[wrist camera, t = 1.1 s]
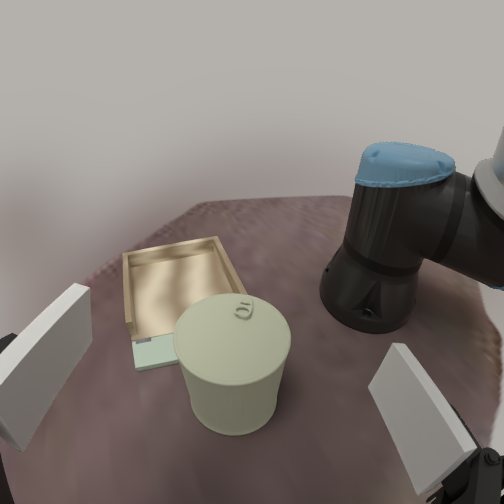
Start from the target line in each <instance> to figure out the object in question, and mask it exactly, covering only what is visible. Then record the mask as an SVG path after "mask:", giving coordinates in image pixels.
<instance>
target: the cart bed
mask: <svg viewBox="0 0 504 504" xmlns="http://www.w3.org/2000/svg"><path fill="white" fill-rule="evenodd" d="M123 286H124V305H125V319H126V325H127V327H128V330H129V332H130V335H131V340H132V342H133V341H135V340H138V339H143V338H149V337H151V338H154V337H158V336H163V335H168V334H173V333H174V328H175V325H176V323H177V321H178V319H179V318H180V316H181V315H182V314H183V313H184V312H185V311H186V310H187V309H188V308H189V307H190V306H191V305H193V304H195V303H196V302H198V301H200V300H202V299H204V298H207V297H210V296H214V295H219V294H227V293H236V294H245V295H248V294H247V292H246V290H245V288H244V286H243V285H242V283H241V281H240V279H239V277H238V275H237V273H236V271H235V270H234V268H233V266H232V264H231V262H230V260H229V258H228V256H227V254H226V252H225V251H224V249H223V247H222V245H221V243H220V241H219V239H218V237H217V236H214V237H208V238H202V239H197V240H191V241H186V242H180V243H175V244H169V245H164V246H158V247H153V248H148V249H143V250H137V251H132V252H127V253H123Z"/></svg>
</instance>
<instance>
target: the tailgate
mask: <svg viewBox="0 0 504 504" xmlns="http://www.w3.org/2000/svg"><path fill="white" fill-rule="evenodd" d="M132 346H133V354H134V361H135V368H136V370H137V371H142V370H148V369H153V368H158V367H163V366H168V365H172V364H177V363H179V360H178V357H177V356H176V353H175V350H174V346H173V334H168V335H163V336H158V337H154V338H151V337H149V338H143V339H138V340H135V341H133V342H132Z"/></svg>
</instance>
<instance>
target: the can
mask: <svg viewBox="0 0 504 504" xmlns="http://www.w3.org/2000/svg"><path fill="white" fill-rule="evenodd" d="M173 346H174V350H175V353H176V356H177V357H178V360H179V363H180V366H181V369H182V372H183V375H184V379H185V382H186V385H187V388H188V391H189V395H190V398H191V406H192V409H193V412H194V413H195V415H196V417H197V418H198V420H199V421H200V422H201V423H202V424H203V425H205V426H206V427H207V428H209V429H211V430H213V431H215V432H217V433H220V434H224V435H244V434H248V433H251V432H254V431H256V430H258V429H259V428H261V427H262V426H263V425H265V424H266V423H267V422H268V421H269V419H270V418H271V417H272V415H273V413H274V411H275V408H276V404H277V393H278V389H279V385H280V381H281V377H282V373H283V369H284V365H285V361H286V358H287V356H288V353H289V350H290V346H291V333H290V329H289V326H288V324H287V322H286V320H285V318H284V317H283V315H282V314H281V313H280V312H279V311H278V310H277V309H276V308H275V307H273V306H272V305H271V304H269V303H267V302H266V301H264V300H261V299H259V298H257V297H253V296H250V295H245V294H236V293H227V294H219V295H214V296H210V297H207V298H204V299H202V300H200V301H198V302H196V303H195V304H193V305H191V306H190V307H189V308H188V309H187V310H186V311H185V312H184V313H183V314H182V315H181V316H180V318H179V319H178V321H177V323H176V325H175V328H174V333H173Z"/></svg>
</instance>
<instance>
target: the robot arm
mask: <svg viewBox="0 0 504 504" xmlns="http://www.w3.org/2000/svg"><path fill="white" fill-rule="evenodd" d="M455 170H456V167H455V162H454V159H453V158H452V157H450V156H448V155H447V154H445V153H442V152H439V151H435V150H434V149H431V148H427V147H423V146H418V145H413V144H407V143H397V142H380V143H375V144H372V145H370V146H368V147H367V148H366V149H365V150H364V152H363V154H362V157H361V162H360V165H359V170H358V173H357V175H356V177H355V182H356V184H355V189H354V194H353V199H352V204H351V209H350V213H349V218H348V223H347V227H346V231H345V236H344V240H343V243H342V245H341V246H340V248H339V249H338V251H337V252H336V254H335V255H334V257H333V258H332V260H331V262H330V263H329V264H328V265H327V267H326V268H325V270H324V272H323V275H322V280H321V284H320V296H321V299H322V301H323V303H324V305H325V307H326V308H327V309H328V311H329V312H330V313H331V314H332V315H333V316H334V317H335V318H337V319H338V320H339V321H341V322H342V323H344V324H345V325H347V326H349V327H351V328H354V329H357V330H360V331H363V332H369V333H386V332H390V331H393V330H396V329H398V328H399V327H401V326H402V325H403V324H404V323H405V322H406V321H407V319H408V318H409V316H410V314H411V312H412V310H413V308H414V305H415V300H416V290H417V281H418V271H419V269H420V266H421V264H422V261H423V259H424V258H426V259H429V260H431V261H434V262H436V263H438V264H441V265H443V266H445V267H448V268H450V269H452V270H454V271H457V272H459V273H461V274H463V275H466V276H468V277H470V278H472V279H474V280H477V281H479V282H481V283H483V284H485V285H487V286H489V287H490V288H493V289H500V290H502V291H504V127H503V130H502V133H501V137H500V139H499V142H498V145H497V148H496V151H495V154H494V157H493V158H490V159H485V160H482V161H480V162H479V163H478V164H477V166H476V168H475V171H474V174H473V176H472V178H471V177H468V176H466V175H463V174H461V173H458V172H456V171H455ZM92 342H93V339H92V326H91V309H90V287H86V286H83V285H79V284H76V283H74V284H73V285H72V286H71V287H69V289H67V290H66V291H65V292H64V293H63V294H62V295H60V296H59V298H57V299H56V300H55V301H54V302H53V303H52V304H51V305H49V306H48V307H47V308H46V309H45V310H44V311H43V312H42V313H41V314H40V315H39V316H38V317H37V318H36V319H35V320H34V321H32V322H31V323H30V324H29V325H28V326H27V327H26V328H25V329H24V330H23V331H22V332H21V333H20V334H19V335H16V334H13V333H11V334H9V335H7V336H5V337H3V338H1V339H0V434H1V436H2V437H3V439H4V440H5V442H6V443H7V444H9V445H11V446H12V447H14V448H15V449H17V450H19V451H20V452H22V453H24V451H25V449H26V447H27V445H28V444H29V442H30V440H31V438H32V436H33V435H34V433H35V431H36V429H37V428H38V426H39V424H40V422H41V421H42V419H43V417H44V416H45V414H46V412H47V411H48V409H49V407H50V406H51V404H52V402H53V401H54V399H55V398H56V396H57V394H58V393H59V391H60V390H61V388H62V386H63V385H64V383H65V382H66V380H67V379H68V377H69V376H70V374H71V373H72V371H73V370H74V368H75V367H76V365H77V364H78V362H79V361H80V359H81V358H82V356H83V355H84V353H85V352H86V350H87V349H88V347H89V346H90V345H91V343H92ZM368 388H369V390H370V392H371V394H372V396H373V399H374V401H375V403H376V405H377V407H378V409H379V411H380V413H381V415H382V417H383V420H384V422H385V424H386V426H387V428H388V430H389V432H390V435H391V437H392V439H393V441H394V443H395V446H396V448H397V450H398V452H399V454H400V457H401V459H402V461H403V463H404V466H405V468H406V470H407V473H408V475H409V477H410V480H411V482H412V484H413V487H414V489H415V492H416V494H417V495H419V494H422V493H425V492H428V491H430V490H432V489H433V488H434V487H436V486H437V485H438V484H439V483H440V482H441V483H442V485H443V487H441V488H440V489H439V490H438V491H436V492H435V493H434V494H433V495H431V496H430V497H429V498H428V499H427V501H426V502H427V503H428V502H429V501H431V500H432V499H433V498H435V497H436V499H435V500H434V501H432V502H431V504H504V495H503V496H501V490H503V489H504V456H500V455H499V454H498V453H497V452H496V451H495V450H494V449H492V448H488V447H487V448H483V449H482V448H481V447H480V445H479V444H478V442H477V441H476V439H475V438H474V436H473V435H472V433H471V431H470V430H469V428H468V427H467V425H465V422H464V421H463V419H462V418H460V415H459V414H458V412H457V411H456V409H455V408H454V407H453V406H452V405H451V404H449V403H448V402H447V401H446V399H445V398H444V396H443V395H442V394H441V392H440V391H439V389H438V388H437V386H436V385H435V384H434V382H433V381H432V380H431V378H430V377H429V375H428V374H427V373H426V371H425V370H424V369H423V367H422V366H421V365H420V363H419V362H418V360H417V359H416V358H415V357H414V355H413V354H412V353H411V351H410V350H409V349H408V347H407V346H406V345H405V344H402V343H392V345H391V347H390V348H389V350H388V352H387V354H386V356H385V358H384V360H383V362H382V363H381V365H380V367H379V369H378V371H377V372H376V374H375V376H374V378H373V379H372V381H371V383H370V384H369V386H368ZM0 504H14V501H13V498H12V495H11V492H10V488H9V485H8V482H7V478H6V475H5V471H4V467H3V463H2V459H1V454H0Z"/></svg>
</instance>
